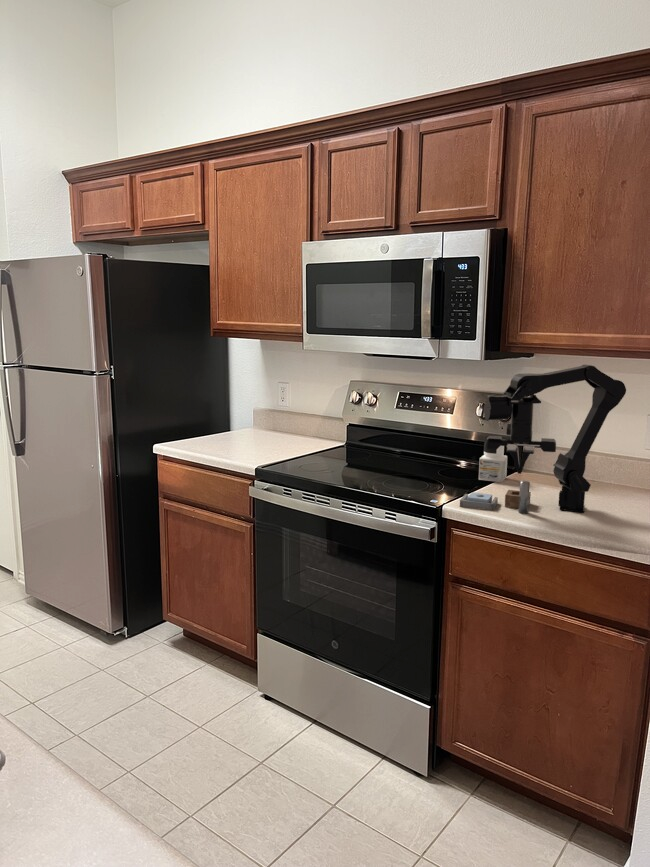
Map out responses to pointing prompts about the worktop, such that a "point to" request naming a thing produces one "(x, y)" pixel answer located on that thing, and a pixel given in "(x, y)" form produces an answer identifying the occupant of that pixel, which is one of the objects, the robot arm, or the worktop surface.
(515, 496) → the go block
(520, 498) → the cylinder
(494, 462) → the container
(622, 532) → the worktop surface
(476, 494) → the block
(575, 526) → the worktop surface
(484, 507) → the tray
